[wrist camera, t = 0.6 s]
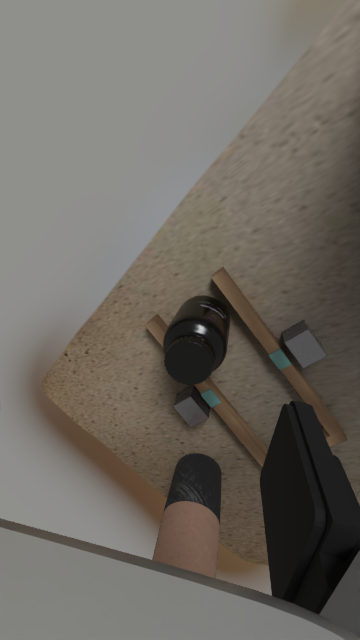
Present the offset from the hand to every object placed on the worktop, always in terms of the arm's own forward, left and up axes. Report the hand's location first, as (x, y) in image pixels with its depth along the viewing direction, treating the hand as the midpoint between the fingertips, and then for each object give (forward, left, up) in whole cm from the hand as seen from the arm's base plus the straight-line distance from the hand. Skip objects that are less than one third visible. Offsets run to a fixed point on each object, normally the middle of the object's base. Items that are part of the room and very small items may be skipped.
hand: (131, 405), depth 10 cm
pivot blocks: (+6, +15, -30) cm, 34 cm away
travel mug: (+22, +26, -31) cm, 46 cm away
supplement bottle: (+6, +6, -31) cm, 32 cm away
